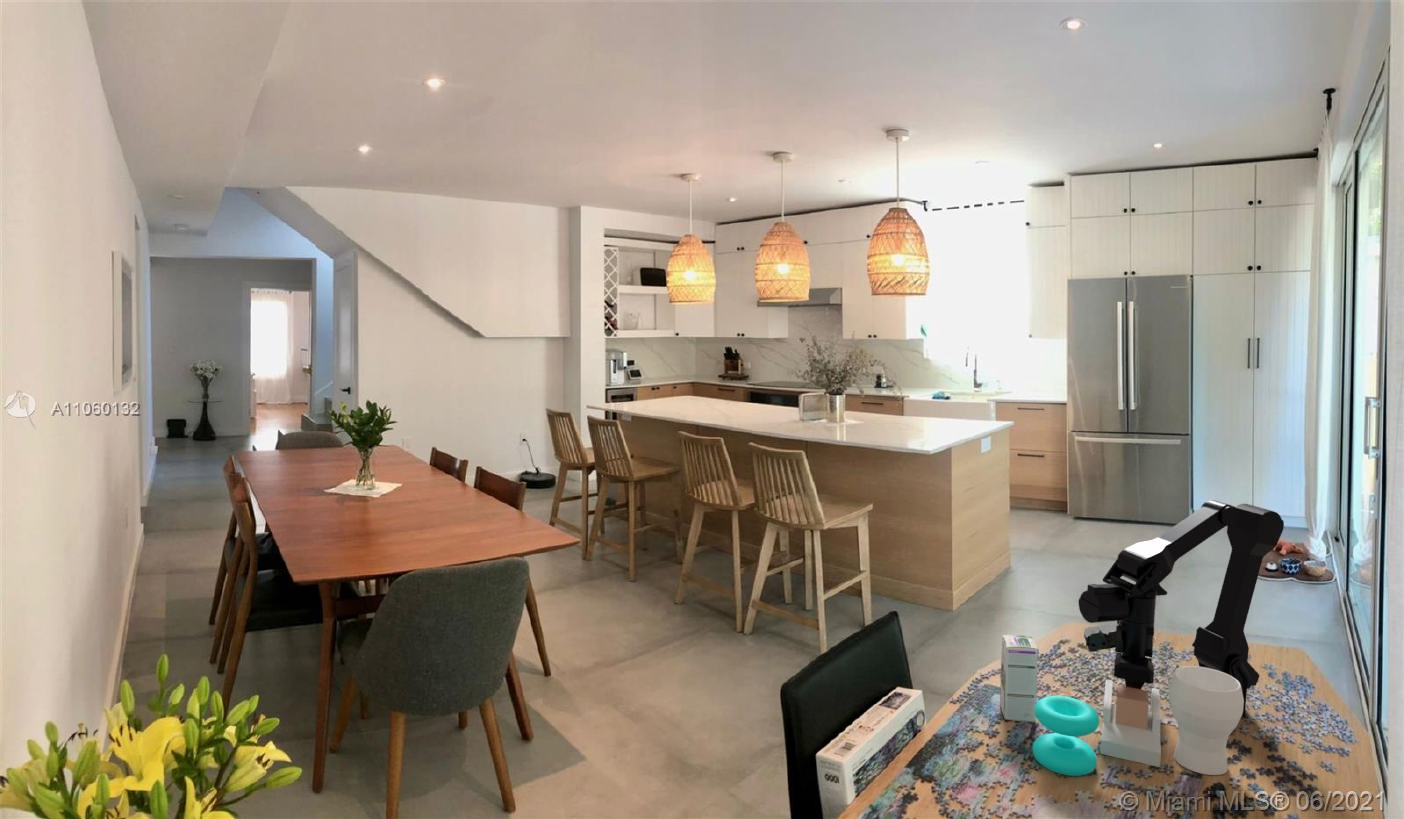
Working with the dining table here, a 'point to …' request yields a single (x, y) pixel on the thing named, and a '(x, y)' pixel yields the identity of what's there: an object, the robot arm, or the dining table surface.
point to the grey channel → (1131, 733)
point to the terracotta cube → (1132, 707)
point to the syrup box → (1018, 678)
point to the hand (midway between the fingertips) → (1131, 698)
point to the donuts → (1065, 735)
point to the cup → (1204, 716)
